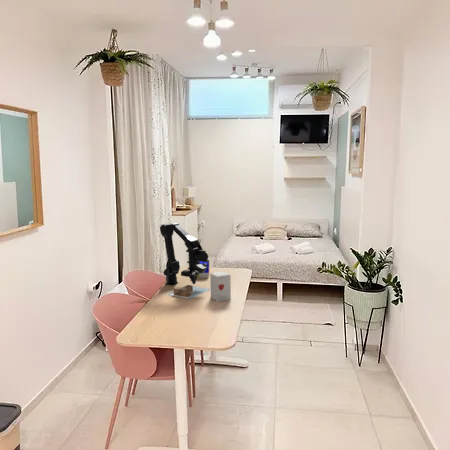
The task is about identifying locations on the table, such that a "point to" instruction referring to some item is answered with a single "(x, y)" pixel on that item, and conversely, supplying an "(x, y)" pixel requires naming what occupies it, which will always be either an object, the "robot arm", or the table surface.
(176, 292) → the tee
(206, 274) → the puzzle toy
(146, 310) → the table surface
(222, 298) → the supplement box
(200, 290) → the mat
